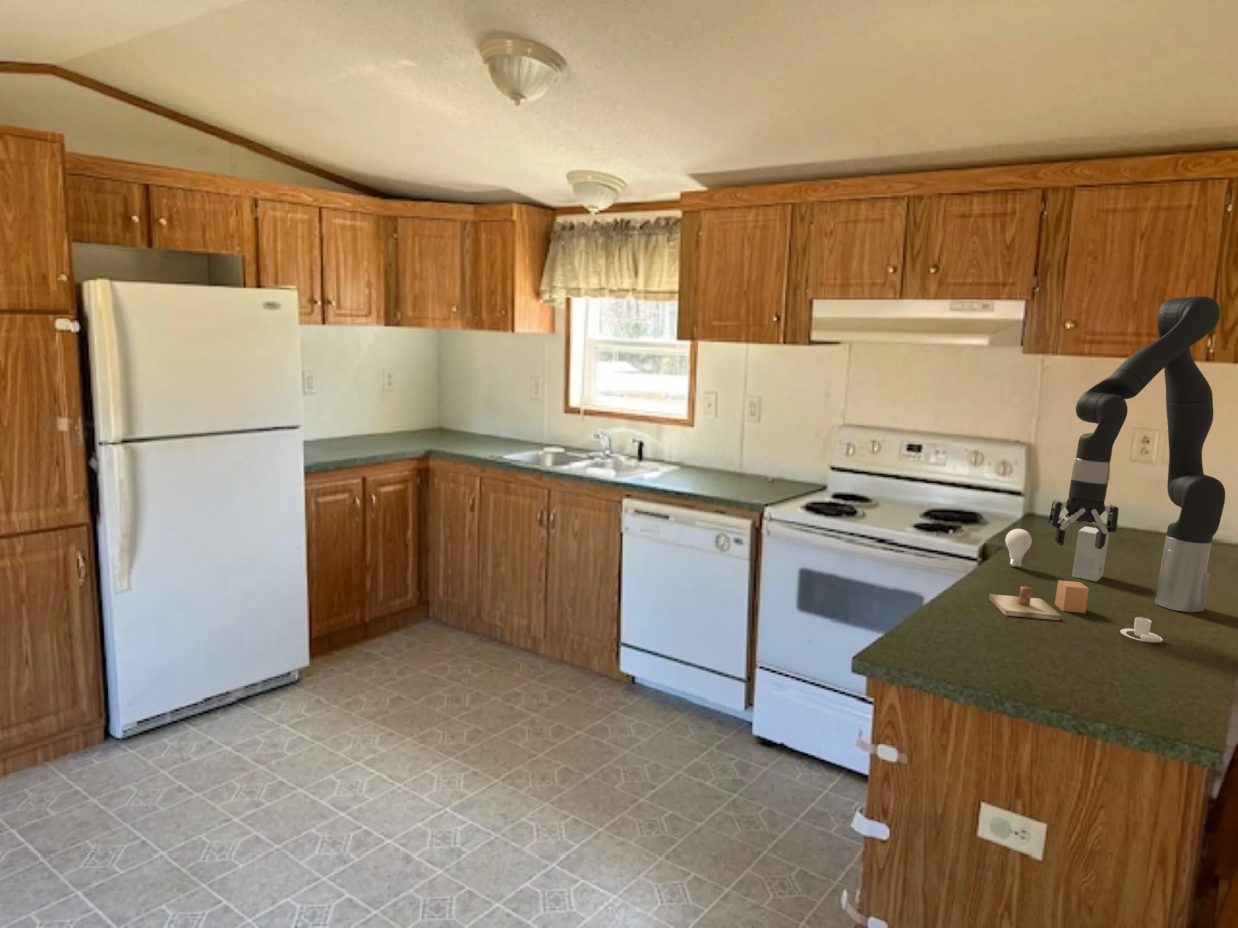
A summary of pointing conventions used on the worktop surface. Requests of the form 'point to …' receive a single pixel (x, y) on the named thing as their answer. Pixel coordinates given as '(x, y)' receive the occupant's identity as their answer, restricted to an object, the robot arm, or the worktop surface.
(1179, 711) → the worktop surface
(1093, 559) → the small box
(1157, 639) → the white ring and cup
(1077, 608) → the salmon cube
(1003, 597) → the post base
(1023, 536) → the light bulb
